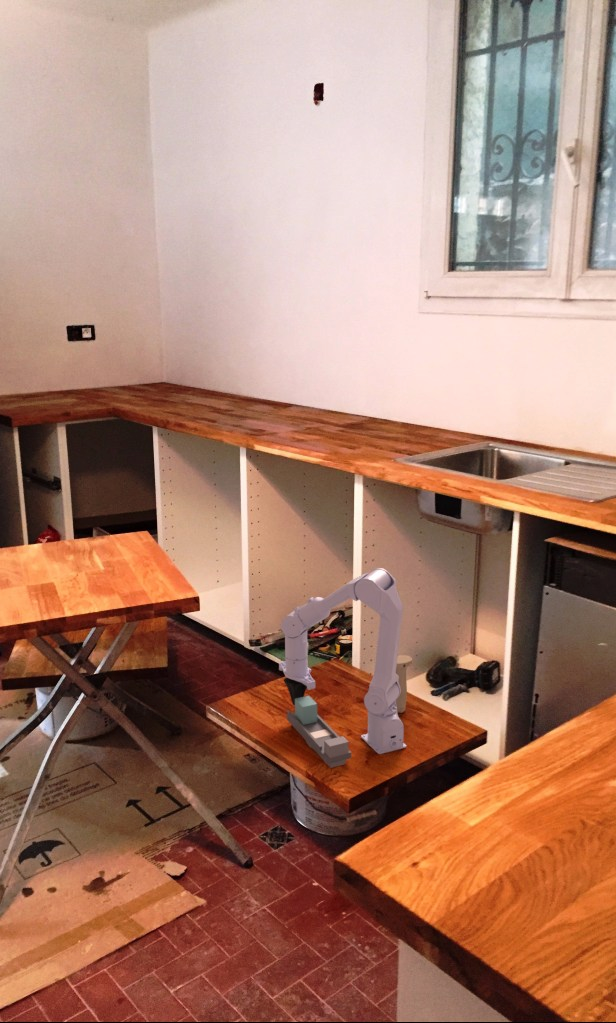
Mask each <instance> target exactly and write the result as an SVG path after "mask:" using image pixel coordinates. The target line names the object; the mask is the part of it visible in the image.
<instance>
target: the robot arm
mask: <svg viewBox="0 0 616 1023" xmlns="http://www.w3.org/2000/svg"><path fill="white" fill-rule="evenodd" d="M350 599H351V600H352V601H355V602H357V601H360V602H361V603H362V604H364V605H365V606H367V607H369V609H372V610H373V611H374V612H376V613H377V614H378V615H379V617H380V618H379V626H378V635H377V642H376V644H377V646H376V653H375V662H374V670H373V671H374V672H373V676H372V679H371V681H370V683H369V685H368V687H369V688H368V691H367V692H366V694H365V696H364V697H363V703H364V707H365V708H366V710H367V733H366V734H365V733H364V734H362V735H360V737H361V739H362V740H364V742H365V743H366V744H367V745H368V746H370V747H371V749H373V751H374V752H375V753H377V754H378V755H381V754H382V755H383V754H385V753H386V754H387V753H390V752H394V751H399V750H401V749H405V748H407V744H406V743H404V732H405V731H404V730H405V729H404V728H405V727H404V723H403V721H402V720H401V718H400V717H399V713H397V704H396V699H397V698H398V697H399V696H400V693H401V689H400V686H399V682H398V679H399V676H398V675H397V674H396V665H397V657H398V654H399V648H400V647H399V646H400V639H401V632H402V631H401V629H402V622H403V616H404V614H403V612H404V606H403V603H402V600H401V598H400V595H399V593H398V589H397V580H396V579H395V577H394V576H393V575H392V574H391V573H390V572H389V571H388V570H386V569H385V568H382V567H380V568H379V567H377V568H374V569H373V570H372V571H370V572H366V573H364V574H361V575H359V576H357V577H355V578H354V579H351V580H350V581H348V582H347V583H345V584H344V585H342V586H341V587H339V588H337V589H336V590H334V592H332V593H330V594H329V595H327V596H326V597H322V596H321V597H320V596H316V597H313V596H312V597H310V598H309V599H307V600H306V603H305V604H303V605H301V606H297V607H295V608H294V610H293V611H291V612H290V613H289V614H288V615H285V616H284V617H283V618H282V620H281V622H280V629H281V631H282V634H284V648H285V649H284V653H285V661H281V662H279V663H278V670H279V671H281V672H283V674H284V676H285V677H286V678H284V679H283V683H284V684H285V686H286V687H287V690H288V693H289V696H290V700H291V703H292V705H293V706H295V699H296V698H301V697H305V694H306V691H307V690H309V691H310V690H314V689H316V680H315V679H314V678H313V677H312V675H311V672H312V669H311V668H310V667H309V665H308V664H309V662H308V630H309V629H310V628H312V627H313V626H315V625H317V624H318V623H320V622H322V621H323V620H325V619H327V618H329V616H330V615H331V614H330V613H331V610H332V609H334V608H335V607H337V606H340V605H341V604H343V603H344V602H346V601H348V600H350Z"/></svg>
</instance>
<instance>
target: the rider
mask: <svg viewBox="0 0 616 1023" xmlns="http://www.w3.org/2000/svg"><path fill="white" fill-rule="evenodd" d="M294 713H295V717H296V718H297V719H298V720H299V721H300V722H301V724H302V725H306V724H310V723H314V722H317V714H318V703H317V702H316V701H315V700H314V699H313V698H312V697H311V696H310V695H304V697H301V698H296V699H295V705H294Z"/></svg>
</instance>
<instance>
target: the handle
mask: <svg viewBox="0 0 616 1023" xmlns="http://www.w3.org/2000/svg"><path fill="white" fill-rule="evenodd" d="M412 664H413V658H412V657H411V656H410V655H408V654H407V655H404V654H402V655H400V654H399V655H398V657H397V665H396V674H397V675H398V676H399V679H398V682H399V686H400V689H401V693H400V696H399V697H398V698H397V699H396V704H397V714H399V713H400V714H402V713H404V712H405V711H406V705H407V699H408V698H407V696H408V689H407V688H408V687H407V686H408V685H407V668H408V667H410V666H412Z"/></svg>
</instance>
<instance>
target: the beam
mask: <svg viewBox="0 0 616 1023" xmlns="http://www.w3.org/2000/svg"><path fill="white" fill-rule="evenodd" d="M286 720H287V721H288V722H289V723H290V725H291V726H292V727H293V728H294V729H295V731H297V732H298V734H299V735H300V736H301V737H302V738H303V739H304V740H305V743H306V744H307V745H308V747H309V749H313V750H314V752H316V753H317V755H318V756H319V757H320V758H321V759H322V761H324V763H325V764H326V765H327V766H329V767H330V769H332V768H336V767H339V766H343V765H346V764H347V760H349V759H352V751H351V750H350V749H349V747H350V744H349V742H350V741H348V739H347V738H345V737H344V736H343V735H342V736H340V735H338V733H337V732H336V731H335V730H334V729H332V727H331V726H330V724H329V725H328V723H327V722H326V721H325V720H324V719H323V718H322V717H321V716H320V715H319V714H318V713H317V722H314V723H310V724H306V725H302V724H301V722H300V721H299V720H298V719H297V718H296V717H295V712H291V711H290V710H286Z"/></svg>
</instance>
